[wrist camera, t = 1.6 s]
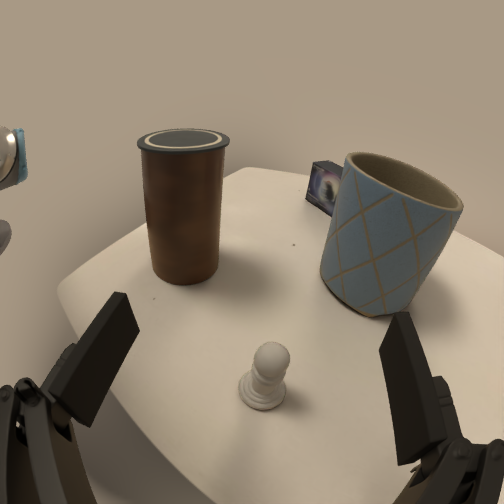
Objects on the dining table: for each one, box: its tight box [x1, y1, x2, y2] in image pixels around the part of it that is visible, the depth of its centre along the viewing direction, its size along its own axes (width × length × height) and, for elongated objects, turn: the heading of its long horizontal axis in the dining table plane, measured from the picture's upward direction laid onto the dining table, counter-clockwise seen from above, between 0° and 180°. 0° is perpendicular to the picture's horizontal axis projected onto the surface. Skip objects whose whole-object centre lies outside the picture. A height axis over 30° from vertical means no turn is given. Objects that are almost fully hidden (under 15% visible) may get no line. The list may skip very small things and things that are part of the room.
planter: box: [320, 152, 464, 317], centre depth 40 cm, size 19×19×20 cm
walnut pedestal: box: [141, 147, 225, 285], centre depth 39 cm, size 11×11×20 cm
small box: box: [305, 161, 343, 217], centre depth 64 cm, size 11×6×10 cm, turn 33°
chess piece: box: [238, 342, 290, 410], centre depth 26 cm, size 5×5×9 cm
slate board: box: [137, 129, 230, 154], centre depth 33 cm, size 12×12×1 cm
